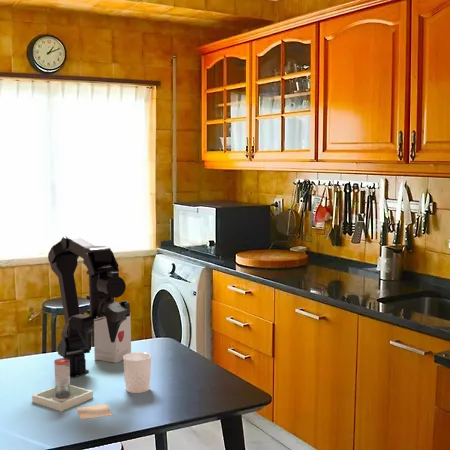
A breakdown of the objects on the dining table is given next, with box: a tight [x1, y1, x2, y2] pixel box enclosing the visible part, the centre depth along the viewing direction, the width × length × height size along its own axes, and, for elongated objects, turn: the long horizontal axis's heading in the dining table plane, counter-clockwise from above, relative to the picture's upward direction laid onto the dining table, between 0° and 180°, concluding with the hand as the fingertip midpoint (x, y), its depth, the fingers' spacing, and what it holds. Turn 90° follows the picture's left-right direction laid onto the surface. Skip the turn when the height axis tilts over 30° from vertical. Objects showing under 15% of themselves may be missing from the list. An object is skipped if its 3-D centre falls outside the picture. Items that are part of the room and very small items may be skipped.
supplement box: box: [93, 312, 132, 364], centre depth 217 cm, size 9×9×15 cm
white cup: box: [122, 351, 152, 394], centre depth 187 cm, size 8×8×10 cm
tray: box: [31, 384, 94, 412], centre depth 179 cm, size 11×11×2 cm
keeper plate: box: [76, 403, 113, 420], centre depth 171 cm, size 8×8×1 cm
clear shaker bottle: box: [52, 357, 74, 403], centre depth 178 cm, size 6×6×11 cm
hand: (101, 346), depth 186 cm, fingers open, 9 cm apart
